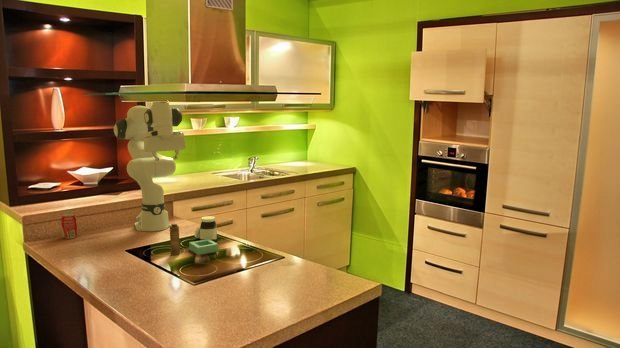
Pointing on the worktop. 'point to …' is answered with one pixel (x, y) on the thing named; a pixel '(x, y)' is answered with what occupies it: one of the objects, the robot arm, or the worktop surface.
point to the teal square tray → (203, 246)
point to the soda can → (69, 226)
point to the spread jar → (207, 229)
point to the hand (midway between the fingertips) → (166, 160)
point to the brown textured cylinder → (174, 240)
